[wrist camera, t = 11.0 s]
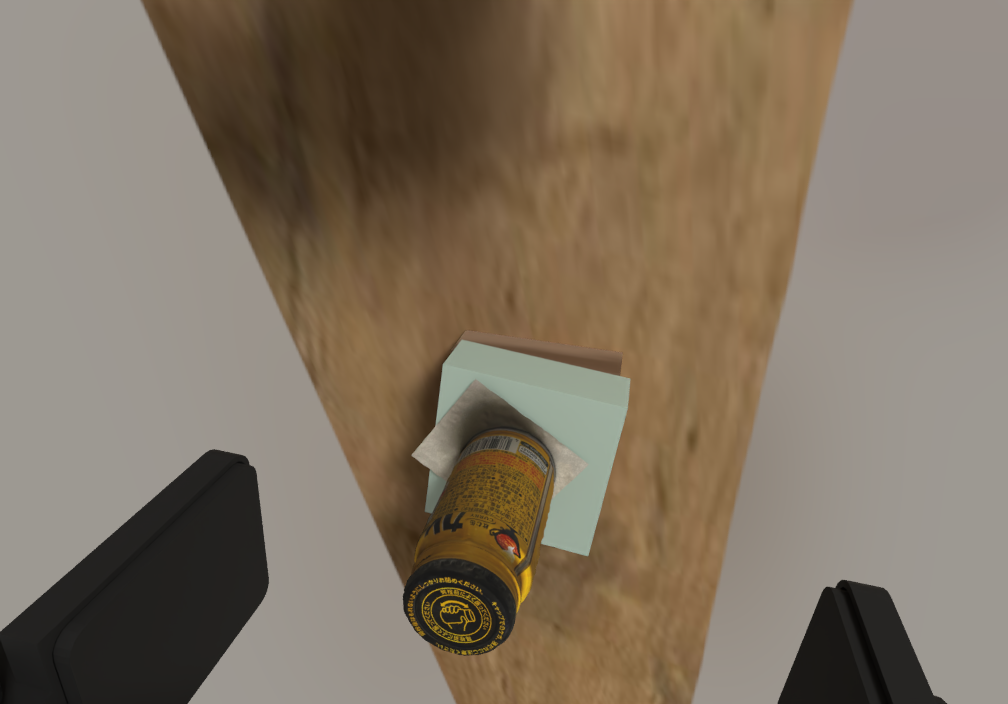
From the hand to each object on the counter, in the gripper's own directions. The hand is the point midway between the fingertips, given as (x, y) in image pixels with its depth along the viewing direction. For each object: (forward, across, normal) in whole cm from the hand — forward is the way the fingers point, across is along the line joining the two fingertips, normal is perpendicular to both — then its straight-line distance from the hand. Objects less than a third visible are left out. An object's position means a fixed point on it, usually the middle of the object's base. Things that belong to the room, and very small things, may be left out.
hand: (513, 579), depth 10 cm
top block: (+28, +3, +15) cm, 32 cm away
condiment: (+24, +5, +15) cm, 29 cm away
